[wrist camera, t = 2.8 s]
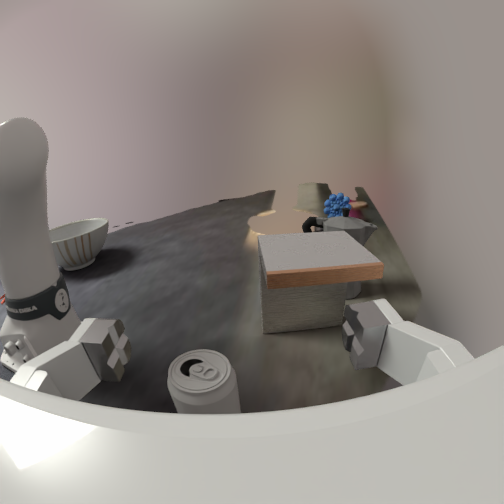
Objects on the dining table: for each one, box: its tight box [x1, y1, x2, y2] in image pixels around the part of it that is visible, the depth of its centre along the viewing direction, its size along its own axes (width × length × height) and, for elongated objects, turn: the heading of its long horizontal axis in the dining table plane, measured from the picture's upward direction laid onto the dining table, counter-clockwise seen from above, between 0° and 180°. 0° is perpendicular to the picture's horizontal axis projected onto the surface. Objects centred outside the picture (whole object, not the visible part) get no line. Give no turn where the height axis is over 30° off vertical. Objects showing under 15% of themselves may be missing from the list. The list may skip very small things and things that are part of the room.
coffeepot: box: [302, 207, 377, 300], centre depth 55 cm, size 15×9×18 cm, turn 67°
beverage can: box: [167, 349, 241, 414], centre depth 25 cm, size 6×6×12 cm
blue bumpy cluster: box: [324, 193, 351, 218], centre depth 108 cm, size 12×7×12 cm, turn 57°
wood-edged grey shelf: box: [258, 231, 384, 334], centre depth 39 cm, size 14×14×16 cm
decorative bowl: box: [49, 218, 108, 271], centre depth 78 cm, size 27×27×12 cm
